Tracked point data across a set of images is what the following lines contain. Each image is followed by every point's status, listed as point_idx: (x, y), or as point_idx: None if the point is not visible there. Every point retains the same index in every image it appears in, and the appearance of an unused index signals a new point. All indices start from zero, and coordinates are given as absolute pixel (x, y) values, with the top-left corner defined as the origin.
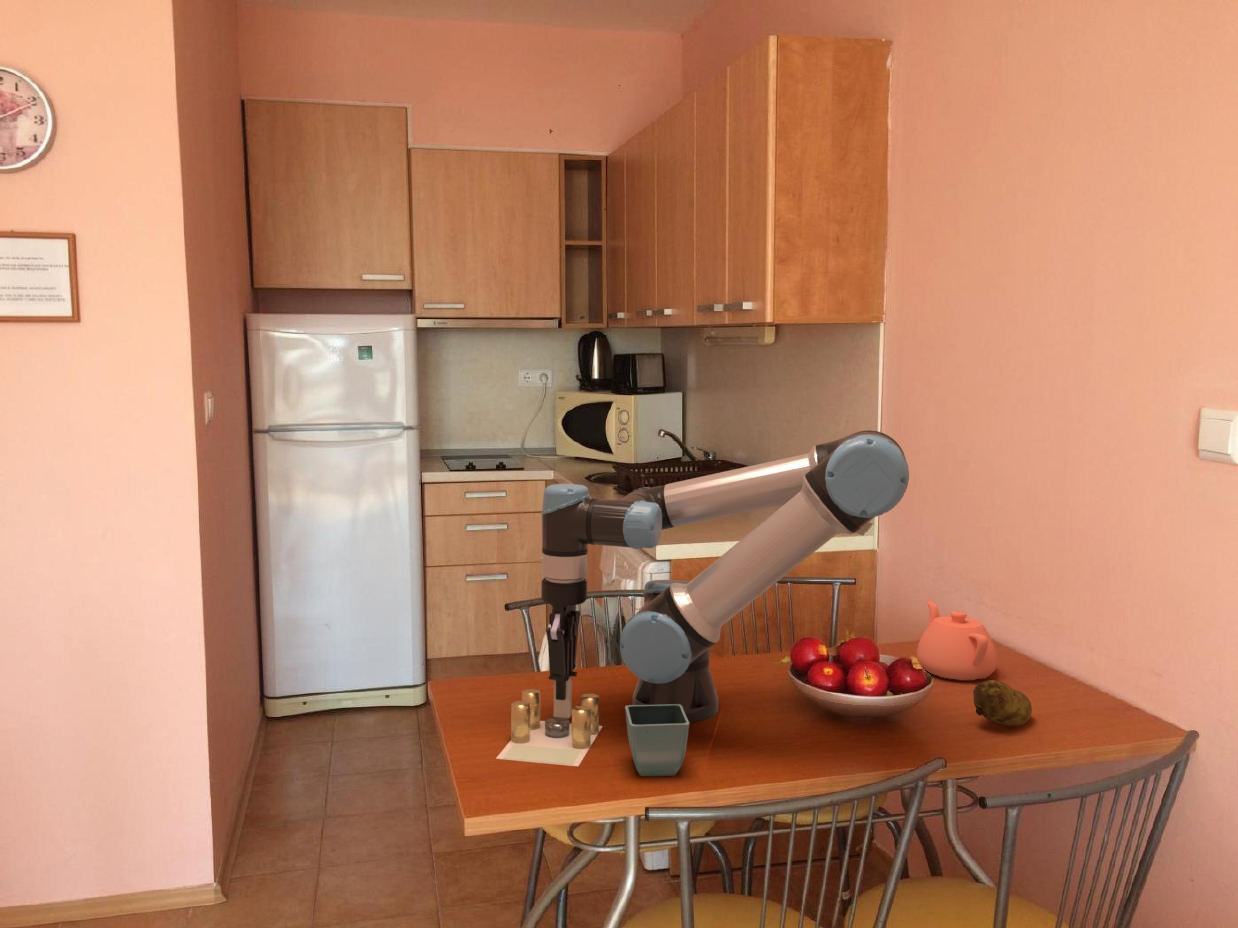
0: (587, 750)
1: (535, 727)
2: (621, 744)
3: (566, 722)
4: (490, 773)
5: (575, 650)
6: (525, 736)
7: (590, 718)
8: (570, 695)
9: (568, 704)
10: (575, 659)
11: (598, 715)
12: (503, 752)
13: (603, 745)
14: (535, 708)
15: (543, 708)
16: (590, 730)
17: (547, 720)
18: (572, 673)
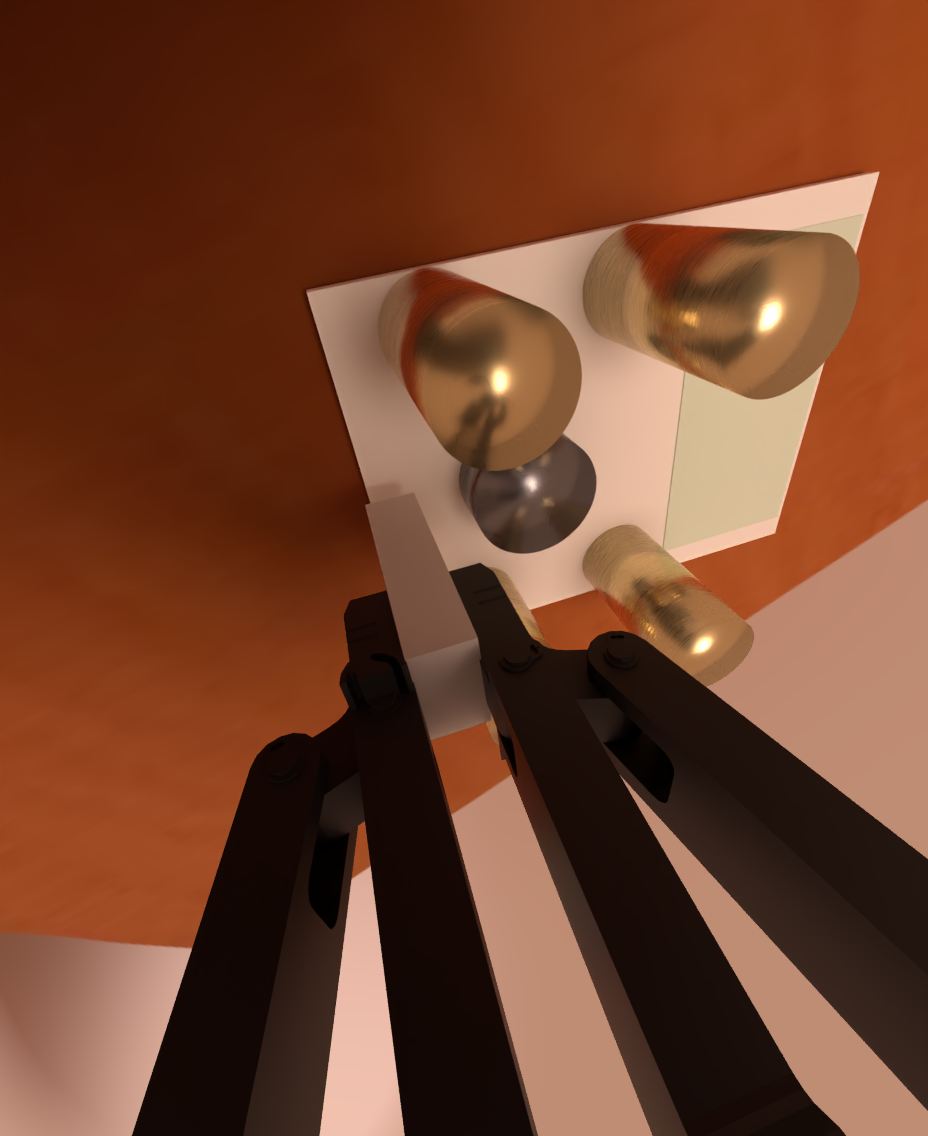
0: (688, 214)
1: (503, 575)
2: (500, 9)
3: None
4: (850, 491)
5: (252, 947)
6: (654, 540)
7: (757, 229)
8: (415, 566)
9: (432, 535)
10: (251, 828)
11: (459, 280)
12: (727, 540)
13: (550, 159)
14: (537, 631)
15: (226, 680)
16: (691, 226)
17: (533, 545)
18: (398, 687)
